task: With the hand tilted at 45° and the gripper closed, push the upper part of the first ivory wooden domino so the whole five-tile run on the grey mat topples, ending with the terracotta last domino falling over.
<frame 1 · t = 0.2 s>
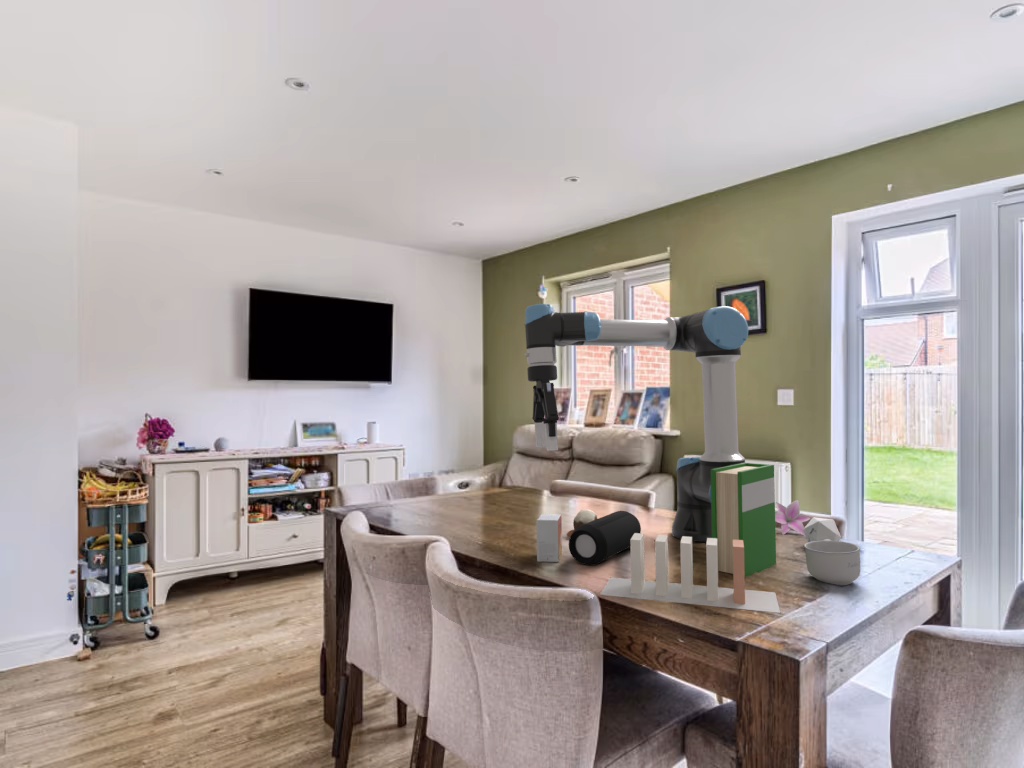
hand: (546, 448, 151), 28 cm above the table, tool pointing down, fingers open, 13 cm apart
domino 4: (712, 595, 121), resting on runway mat
domino 1: (638, 588, 126), resting on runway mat
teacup: (832, 580, 132), on the table
domino 3: (687, 593, 122), resting on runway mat
hardback book: (745, 569, 141), on the table
die: (822, 548, 158), on the table
lily: (789, 533, 177), on the table
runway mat: (687, 595, 122), on the table
small box: (549, 558, 152), on the table
portable speaker: (607, 556, 154), on the table
skull: (587, 536, 177), on the table
domino 2: (662, 591, 124), resting on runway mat
domino 5: (739, 598, 119), resting on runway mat
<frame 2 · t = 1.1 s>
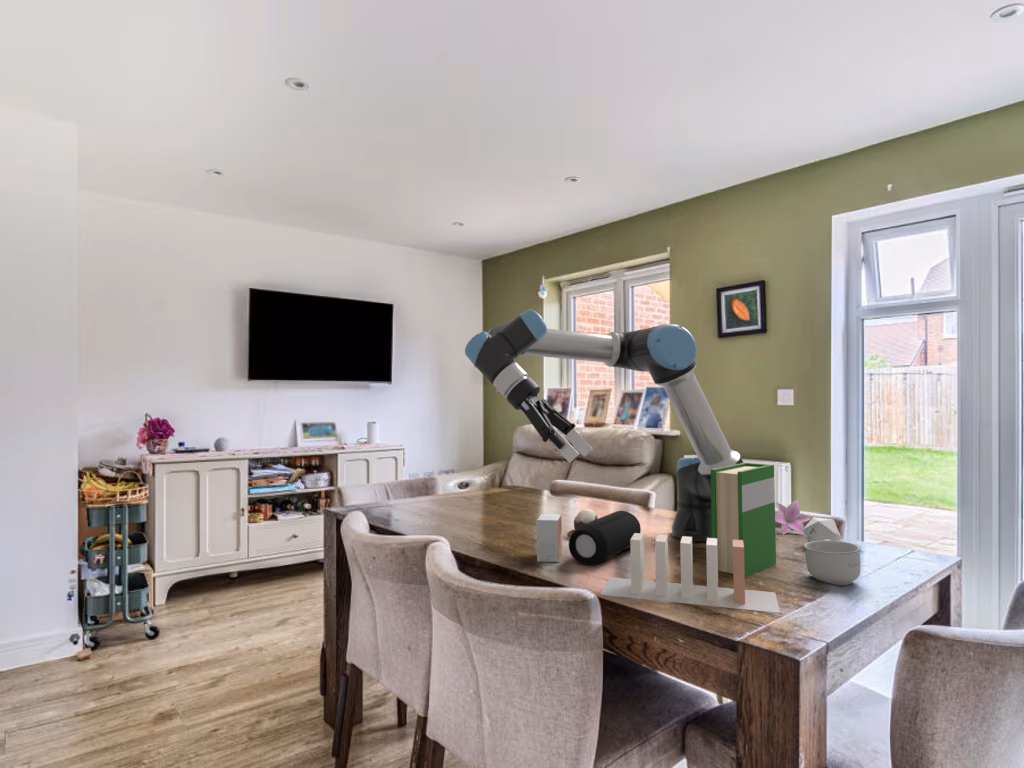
hand: (582, 455, 131), 28 cm above the table, tool tilted 45°, fingers open, 13 cm apart
nothing on the table moved.
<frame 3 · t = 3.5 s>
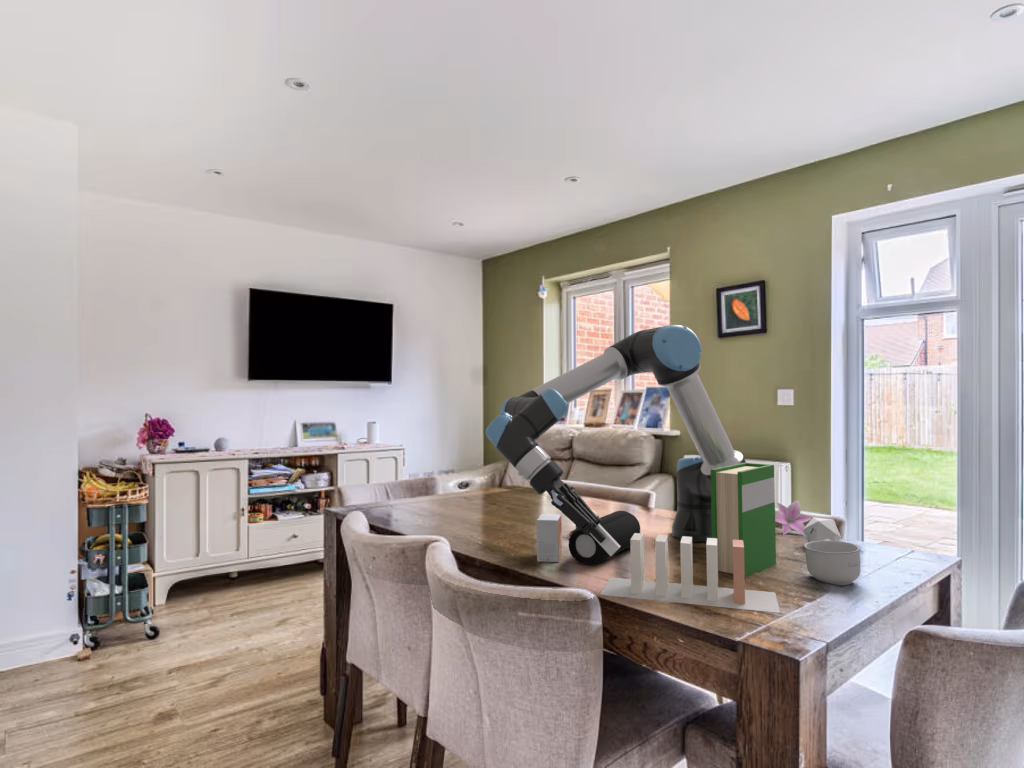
hand: (615, 551, 127), 8 cm above the table, tool tilted 45°, fingers closed
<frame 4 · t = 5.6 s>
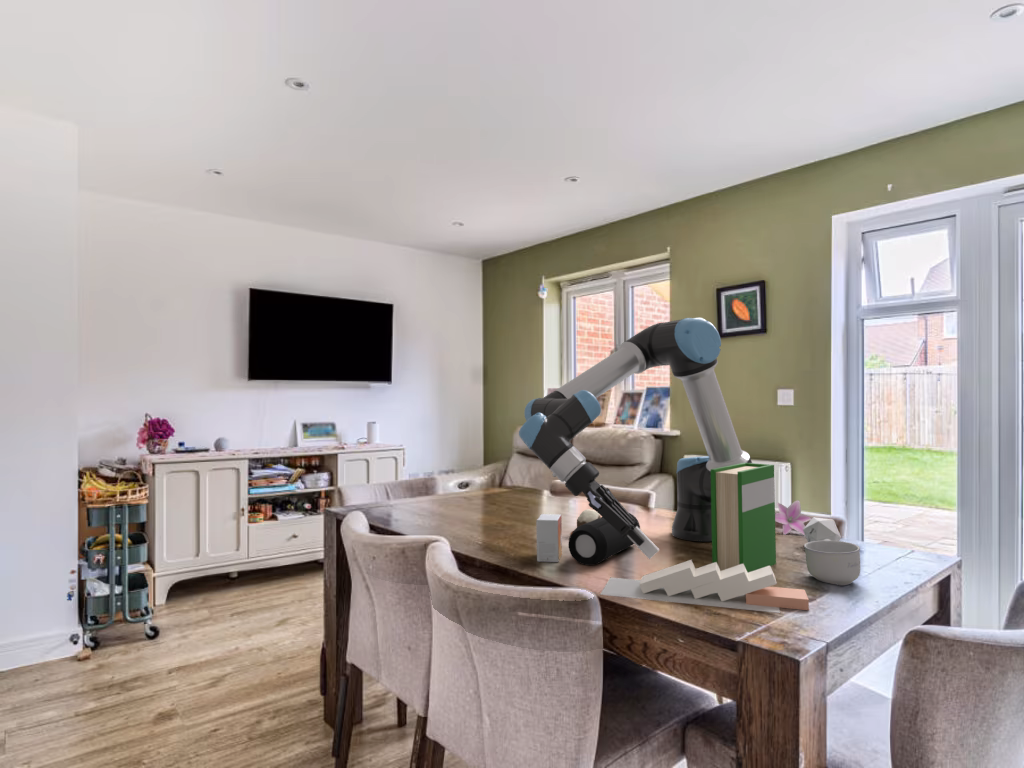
hand: (654, 554, 125), 8 cm above the table, tool tilted 45°, fingers closed
domino 4: (719, 591, 120), point 1 cm above the table, tilted 66°, touching domino 3, domino 5
domino 1: (643, 584, 125), point 1 cm above the table, tilted 67°, touching domino 2
domino 3: (693, 589, 122), point 1 cm above the table, tilted 66°, touching domino 2, domino 4, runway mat
domino 2: (667, 587, 124), point 1 cm above the table, tilted 67°, touching domino 1, domino 3, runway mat
domino 5: (745, 594, 119), point 1 cm above the table, tilted 90°, touching domino 4, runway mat
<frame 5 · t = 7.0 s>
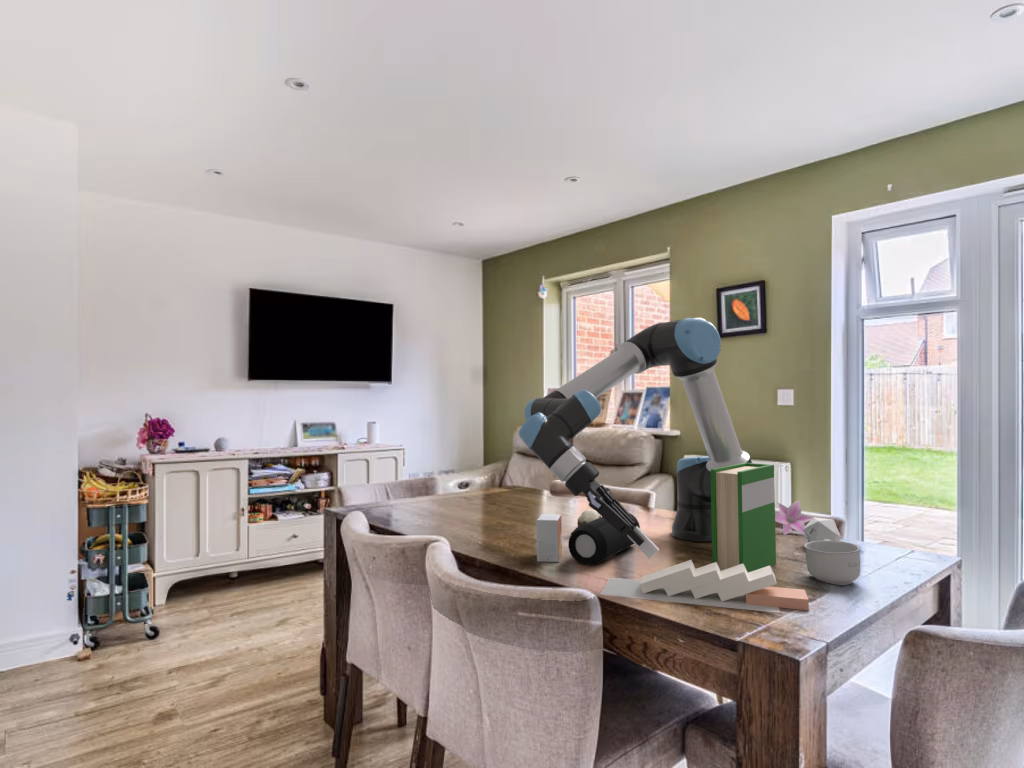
hand: (654, 554, 125), 8 cm above the table, tool tilted 45°, fingers closed
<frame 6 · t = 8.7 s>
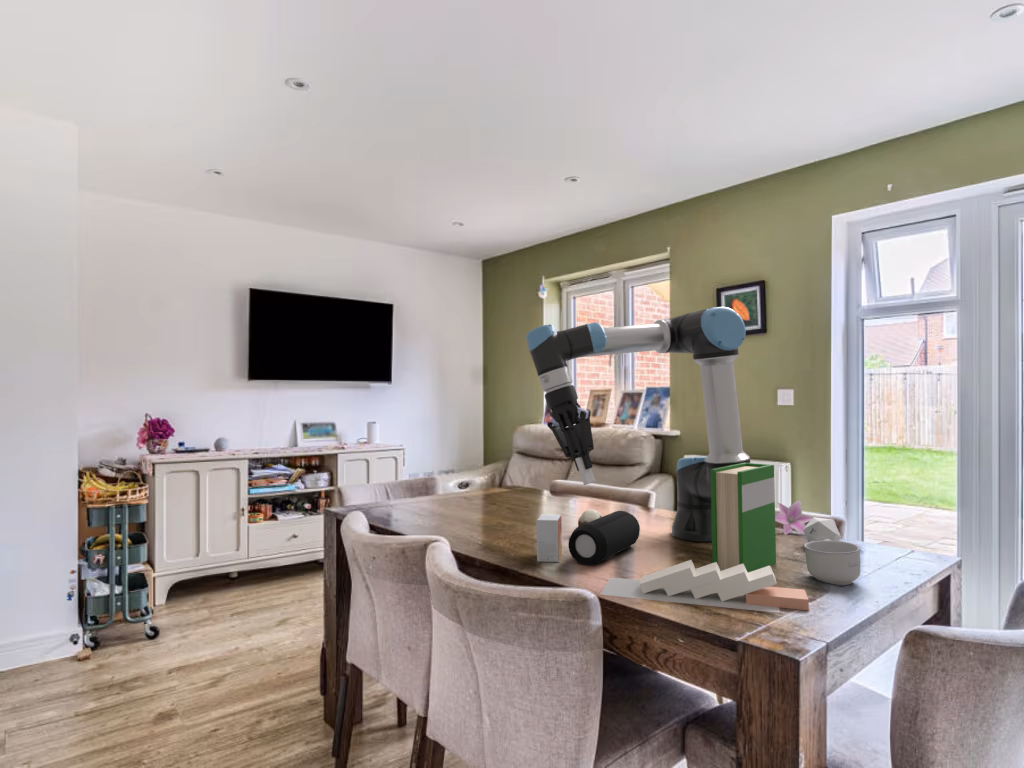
hand: (589, 482, 141), 21 cm above the table, tool tilted 20°, fingers closed
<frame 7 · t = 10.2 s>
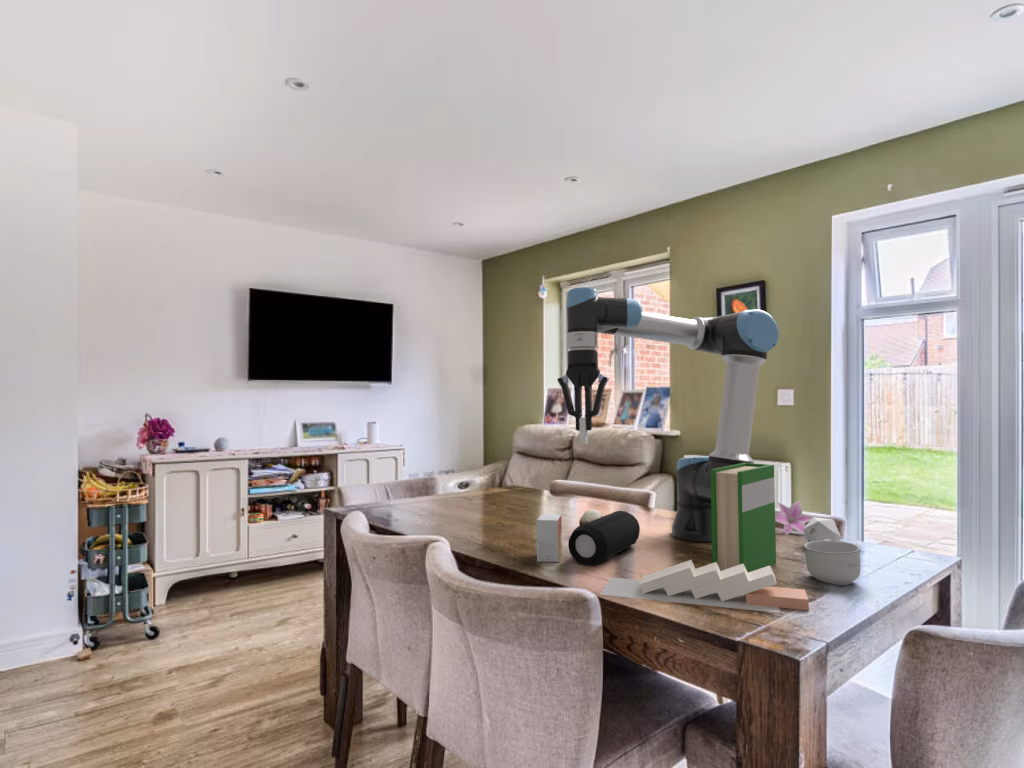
hand: (583, 443, 149), 29 cm above the table, tool pointing down, fingers closed
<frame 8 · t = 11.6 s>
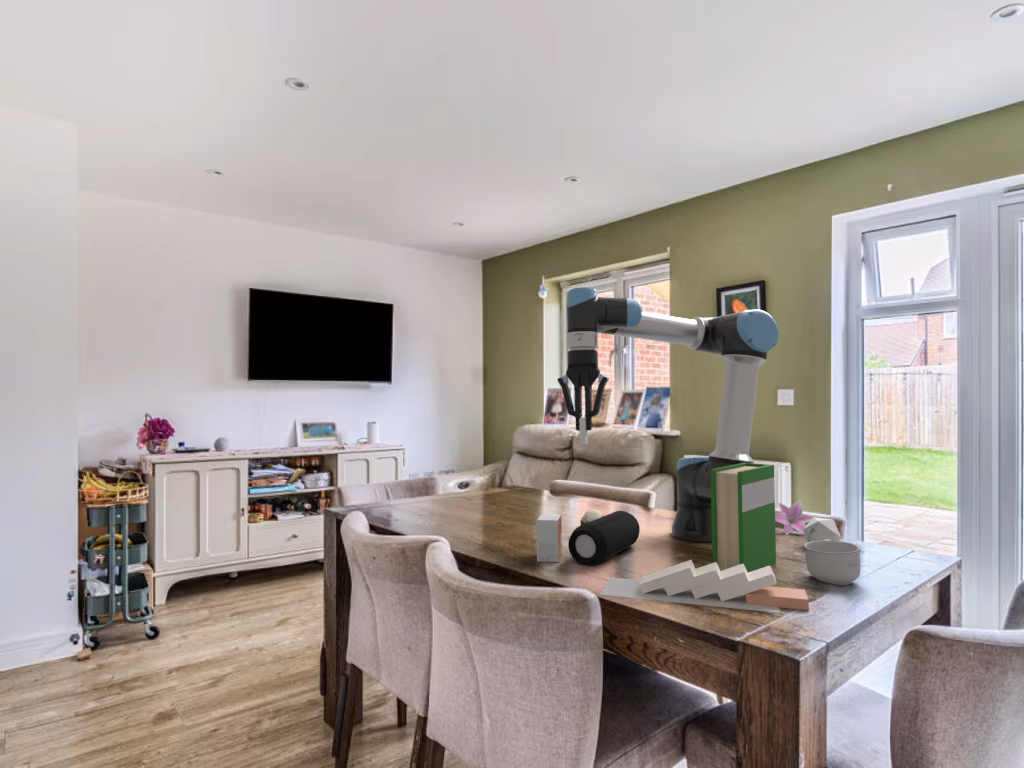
hand: (583, 443, 149), 29 cm above the table, tool pointing down, fingers closed
at the end: domino 5 tilted 90°; domino 1 tilted 67° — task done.
